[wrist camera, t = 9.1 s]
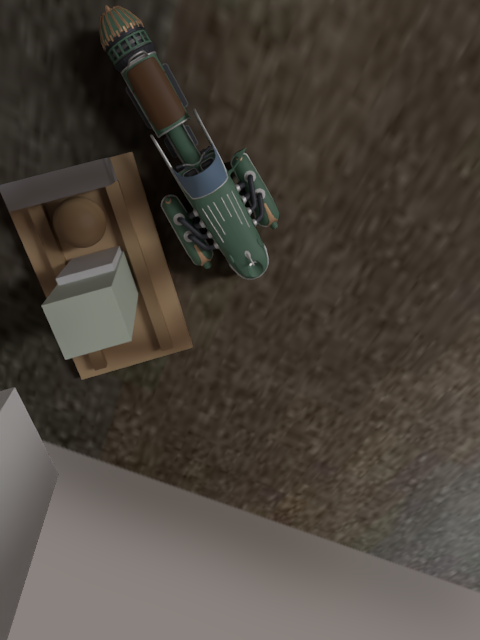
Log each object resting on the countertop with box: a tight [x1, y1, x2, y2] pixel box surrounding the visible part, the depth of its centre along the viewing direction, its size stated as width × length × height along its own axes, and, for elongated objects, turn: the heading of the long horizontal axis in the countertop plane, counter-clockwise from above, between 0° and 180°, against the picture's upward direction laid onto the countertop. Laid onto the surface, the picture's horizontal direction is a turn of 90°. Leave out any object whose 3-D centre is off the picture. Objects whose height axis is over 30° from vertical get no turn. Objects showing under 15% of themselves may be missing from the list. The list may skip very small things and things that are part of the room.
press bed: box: [0, 152, 193, 380], centre depth 41 cm, size 20×12×7 cm, turn 14°
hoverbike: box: [99, 6, 279, 280], centre depth 38 cm, size 10×25×8 cm, turn 29°
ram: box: [41, 246, 139, 360], centre depth 38 cm, size 5×5×12 cm
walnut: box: [53, 197, 106, 248], centre depth 39 cm, size 4×4×4 cm
